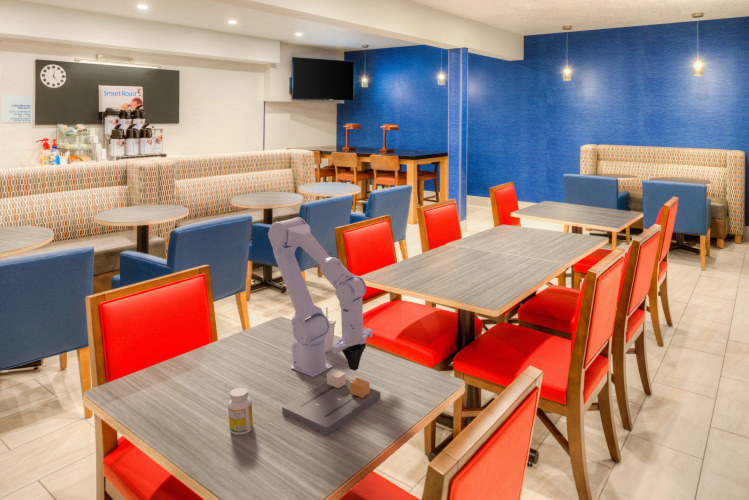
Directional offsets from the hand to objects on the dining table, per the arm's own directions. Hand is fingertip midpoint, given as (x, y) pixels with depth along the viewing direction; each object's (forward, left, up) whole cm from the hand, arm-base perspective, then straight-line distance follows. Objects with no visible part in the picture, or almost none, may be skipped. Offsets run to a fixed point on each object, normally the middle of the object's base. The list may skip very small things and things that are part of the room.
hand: (353, 368), depth 143 cm
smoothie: (-21, +11, -4) cm, 24 cm away
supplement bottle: (-7, -33, -4) cm, 34 cm away
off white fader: (0, -7, -1) cm, 7 cm away
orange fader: (+8, -7, -2) cm, 11 cm away
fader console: (+4, -13, -4) cm, 14 cm away
